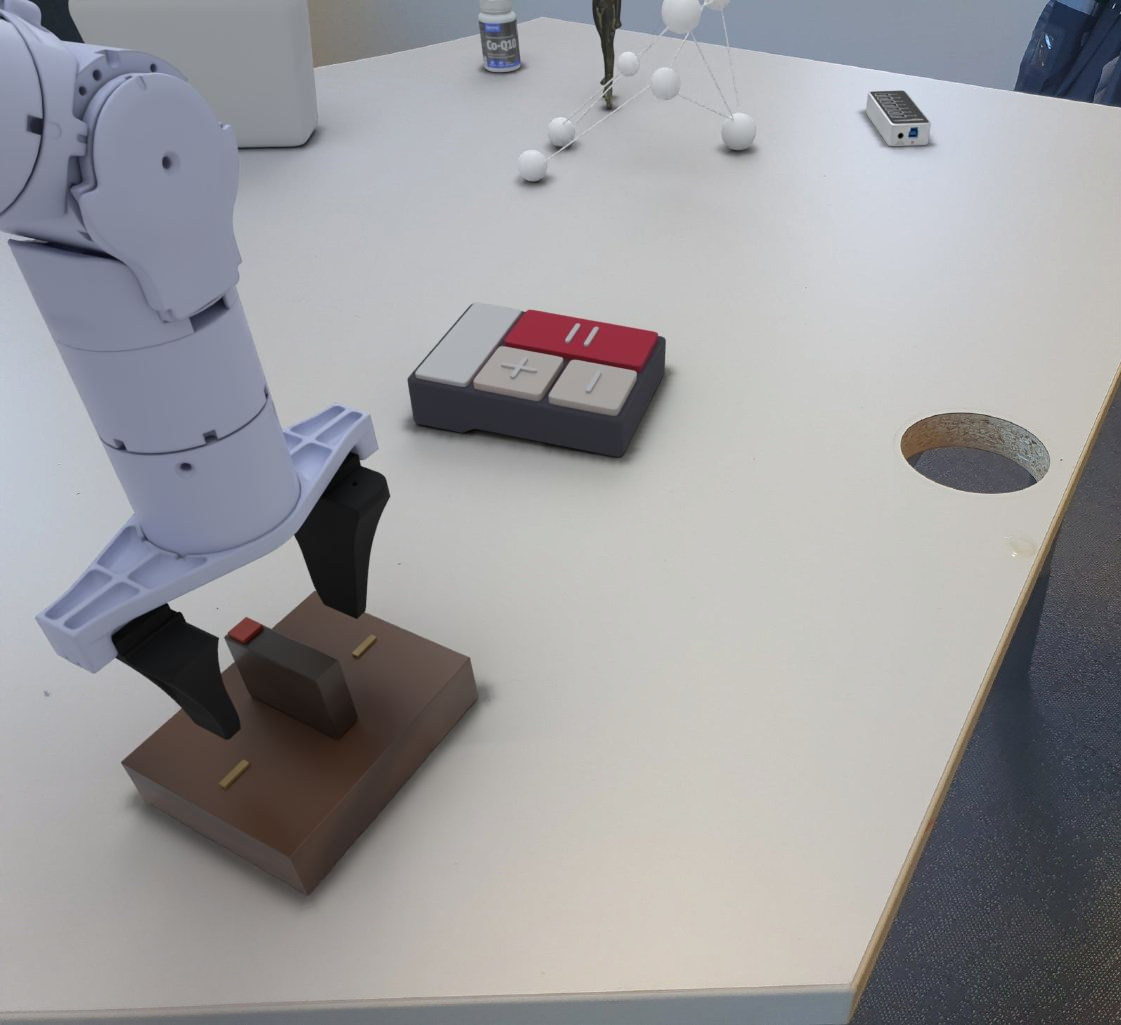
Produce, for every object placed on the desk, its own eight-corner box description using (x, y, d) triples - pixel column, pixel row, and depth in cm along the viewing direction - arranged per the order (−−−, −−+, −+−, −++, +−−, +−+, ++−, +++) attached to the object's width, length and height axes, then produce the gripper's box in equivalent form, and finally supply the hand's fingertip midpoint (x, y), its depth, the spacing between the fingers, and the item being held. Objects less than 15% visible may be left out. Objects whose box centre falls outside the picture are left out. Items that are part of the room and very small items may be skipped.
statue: (580, 112, 115) (566, -86, 102) (591, 94, 120) (579, -97, 107) (620, 114, 115) (611, -85, 102) (629, 96, 120) (622, -97, 107)
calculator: (622, 413, 63) (402, 370, 65) (621, 466, 65) (411, 423, 68) (668, 327, 71) (471, 292, 73) (665, 377, 73) (476, 342, 76)
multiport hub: (902, 110, 115) (905, 90, 114) (928, 145, 107) (932, 123, 106) (864, 111, 115) (867, 91, 114) (888, 146, 107) (891, 124, 105)
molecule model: (765, 188, 103) (776, 20, 88) (523, 209, 102) (493, 42, 87) (745, 107, 111) (752, -60, 96) (520, 125, 109) (492, -41, 95)
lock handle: (359, 717, 45) (338, 656, 43) (338, 740, 44) (314, 678, 42) (271, 674, 47) (245, 612, 45) (248, 694, 46) (220, 633, 44)
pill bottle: (488, 75, 126) (478, 2, 120) (481, 64, 129) (472, -7, 124) (524, 71, 127) (517, -1, 122) (517, 60, 130) (509, -10, 125)
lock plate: (308, 895, 42) (288, 855, 40) (144, 800, 46) (118, 759, 44) (479, 696, 50) (470, 655, 48) (328, 629, 54) (313, 587, 52)
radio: (341, 122, 113) (283, -139, 97) (325, 149, 107) (260, -125, 91) (145, 126, 112) (53, -136, 96) (117, 153, 106) (14, -122, 90)
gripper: (256, 294, 41) (331, 537, 50) (-89, 488, 32) (80, 749, 40) (388, 334, 39) (443, 583, 48) (59, 558, 29) (205, 819, 38)
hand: (285, 663), depth 44 cm, fingers open, 7 cm apart
